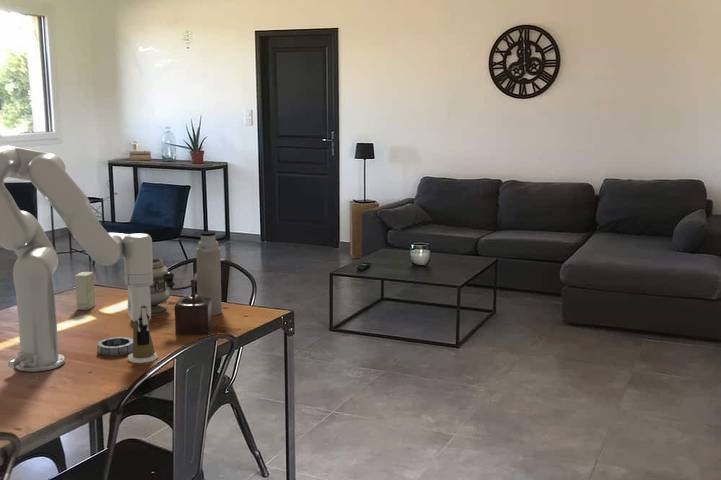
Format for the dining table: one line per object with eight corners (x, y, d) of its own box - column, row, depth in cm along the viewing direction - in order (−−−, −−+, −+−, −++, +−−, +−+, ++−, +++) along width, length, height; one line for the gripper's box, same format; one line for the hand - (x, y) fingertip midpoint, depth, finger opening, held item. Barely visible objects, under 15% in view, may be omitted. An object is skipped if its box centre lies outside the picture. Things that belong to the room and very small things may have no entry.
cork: (137, 359, 208) (133, 321, 206) (129, 353, 213) (124, 316, 211) (158, 353, 212) (154, 316, 209) (149, 348, 216) (145, 311, 214)
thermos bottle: (209, 308, 264) (207, 229, 259) (226, 311, 260) (225, 231, 255) (193, 313, 258) (190, 232, 253) (210, 317, 254) (208, 235, 249)
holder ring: (120, 357, 212) (119, 349, 212) (90, 353, 215) (90, 345, 215) (140, 347, 222) (140, 339, 221) (112, 343, 225) (112, 335, 224)
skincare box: (89, 310, 260) (87, 275, 258) (76, 309, 260) (74, 275, 258) (95, 305, 266) (93, 271, 264) (83, 305, 266) (81, 271, 264)
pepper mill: (213, 324, 245) (212, 270, 242) (208, 335, 234) (207, 278, 231) (165, 324, 244) (163, 270, 241) (157, 335, 234) (155, 278, 230)
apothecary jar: (126, 313, 256) (123, 261, 253) (148, 305, 267) (147, 255, 264) (155, 318, 252) (153, 265, 248) (177, 309, 262) (175, 258, 259)
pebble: (146, 364, 207) (146, 361, 207) (121, 361, 210) (121, 358, 210) (162, 355, 215) (162, 353, 215) (138, 352, 217) (138, 349, 217)
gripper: (120, 273, 214) (122, 335, 217) (130, 286, 199) (133, 352, 202) (147, 271, 217) (149, 332, 220) (159, 284, 202) (161, 349, 206)
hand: (141, 341), depth 211 cm, fingers closed on cork, 4 cm apart
